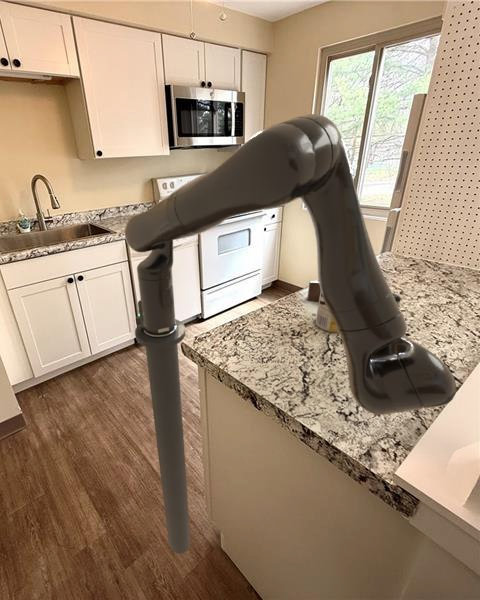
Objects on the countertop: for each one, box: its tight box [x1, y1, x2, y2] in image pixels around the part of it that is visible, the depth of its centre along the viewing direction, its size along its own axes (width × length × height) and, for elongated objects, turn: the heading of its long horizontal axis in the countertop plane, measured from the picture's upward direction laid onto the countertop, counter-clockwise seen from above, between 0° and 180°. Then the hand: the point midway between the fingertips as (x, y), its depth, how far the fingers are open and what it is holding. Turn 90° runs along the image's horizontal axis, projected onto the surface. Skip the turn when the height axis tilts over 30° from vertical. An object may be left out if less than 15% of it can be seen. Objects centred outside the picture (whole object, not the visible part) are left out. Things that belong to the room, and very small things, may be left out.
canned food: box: [315, 291, 339, 334], centre depth 79 cm, size 8×8×12 cm
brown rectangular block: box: [306, 279, 321, 302], centre depth 93 cm, size 10×2×6 cm, turn 68°
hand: (349, 282), depth 67 cm, fingers closed
